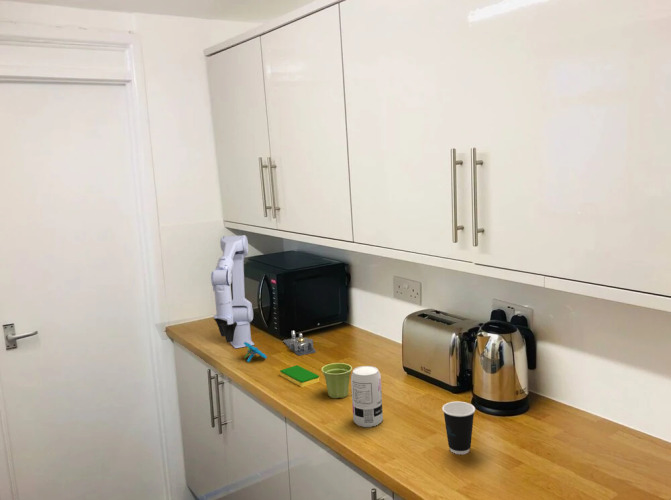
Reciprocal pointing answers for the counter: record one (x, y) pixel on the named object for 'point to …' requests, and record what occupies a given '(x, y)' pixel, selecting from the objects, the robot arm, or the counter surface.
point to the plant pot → (337, 379)
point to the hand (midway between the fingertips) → (227, 338)
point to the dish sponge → (299, 376)
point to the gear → (253, 351)
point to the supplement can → (366, 396)
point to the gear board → (300, 344)
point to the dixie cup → (459, 425)
